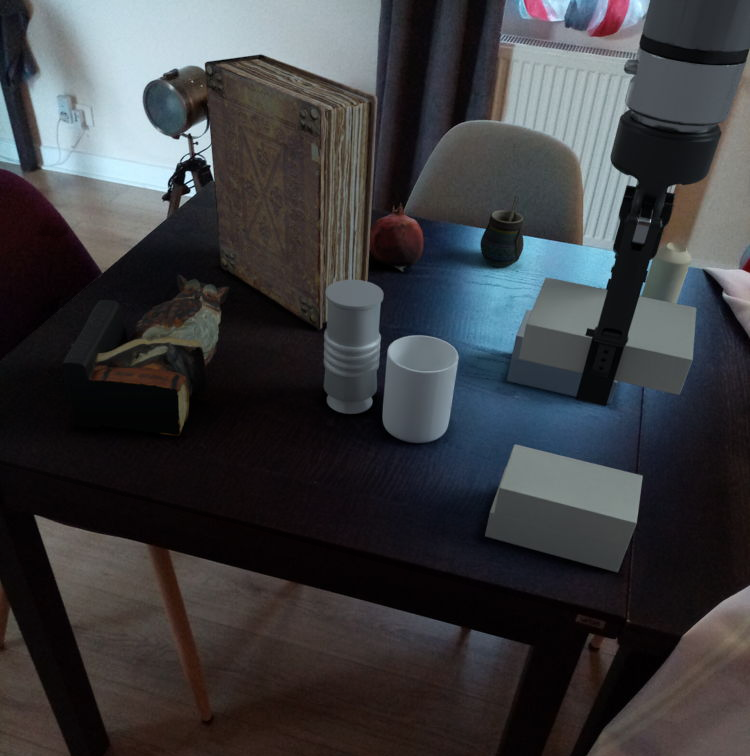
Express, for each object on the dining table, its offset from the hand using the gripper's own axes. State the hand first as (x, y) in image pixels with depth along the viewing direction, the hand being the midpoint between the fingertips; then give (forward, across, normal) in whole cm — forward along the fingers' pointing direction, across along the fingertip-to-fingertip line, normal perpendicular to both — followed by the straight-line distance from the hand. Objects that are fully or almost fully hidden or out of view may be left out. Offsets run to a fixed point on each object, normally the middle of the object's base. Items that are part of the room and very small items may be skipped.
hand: (598, 370), depth 73 cm
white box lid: (-2, 0, 0) cm, 2 cm away
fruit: (+19, -53, -36) cm, 67 cm away
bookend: (+19, -7, -53) cm, 57 cm away
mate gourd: (+19, -62, -20) cm, 68 cm away
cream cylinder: (+19, -57, +7) cm, 61 cm away
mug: (+19, -12, -20) cm, 30 cm away
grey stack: (+19, -29, -4) cm, 35 cm away
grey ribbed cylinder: (+19, -12, -29) cm, 37 cm away
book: (+19, -37, -48) cm, 63 cm away
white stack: (+19, +2, 0) cm, 19 cm away
